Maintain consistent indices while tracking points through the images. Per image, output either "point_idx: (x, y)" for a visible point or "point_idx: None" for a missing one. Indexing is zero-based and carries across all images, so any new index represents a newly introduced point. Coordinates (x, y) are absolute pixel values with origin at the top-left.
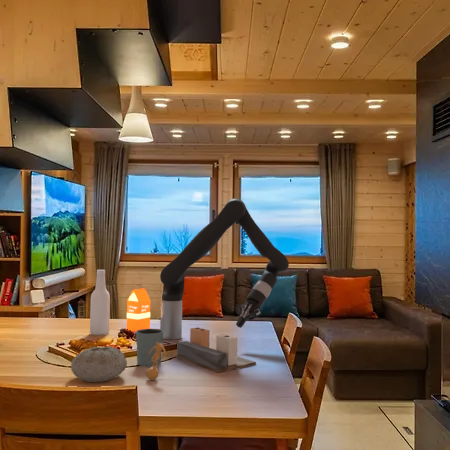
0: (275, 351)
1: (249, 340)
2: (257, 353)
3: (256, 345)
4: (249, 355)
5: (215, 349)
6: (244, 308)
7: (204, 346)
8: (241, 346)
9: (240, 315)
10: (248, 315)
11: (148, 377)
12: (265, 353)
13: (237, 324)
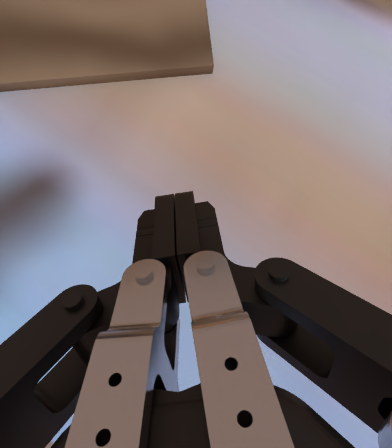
0: None
1: (328, 422)
2: (32, 260)
3: (195, 378)
4: (20, 192)
5: (181, 67)
6: (233, 390)
7: None
8: None
9: (222, 266)
10: (62, 321)
11: None
12: (6, 302)
13: (173, 194)
